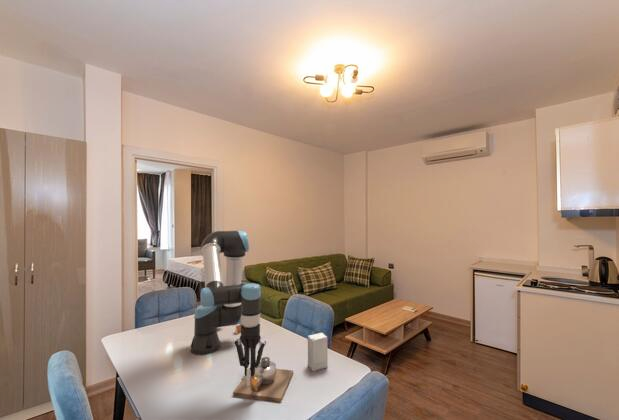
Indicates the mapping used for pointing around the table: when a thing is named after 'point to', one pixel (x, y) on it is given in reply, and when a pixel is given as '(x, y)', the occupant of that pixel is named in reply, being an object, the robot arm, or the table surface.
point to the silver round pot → (263, 373)
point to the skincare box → (317, 351)
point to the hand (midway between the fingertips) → (249, 383)
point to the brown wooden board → (266, 387)
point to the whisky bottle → (238, 329)
